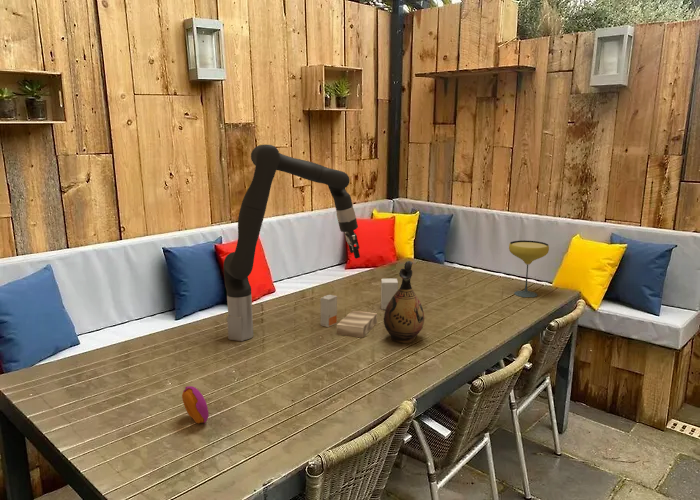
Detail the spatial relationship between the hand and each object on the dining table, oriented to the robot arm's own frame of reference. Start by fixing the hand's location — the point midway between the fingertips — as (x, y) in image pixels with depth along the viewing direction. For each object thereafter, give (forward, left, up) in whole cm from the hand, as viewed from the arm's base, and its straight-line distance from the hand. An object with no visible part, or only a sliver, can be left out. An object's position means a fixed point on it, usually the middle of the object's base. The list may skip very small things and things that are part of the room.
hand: (355, 255), depth 227 cm
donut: (-96, +12, -27) cm, 100 cm away
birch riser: (-13, -5, -27) cm, 30 cm away
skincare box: (-13, +7, -27) cm, 31 cm away
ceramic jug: (-17, -26, -27) cm, 41 cm away
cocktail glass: (+58, -67, -27) cm, 93 cm away
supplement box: (+17, -10, -27) cm, 34 cm away
